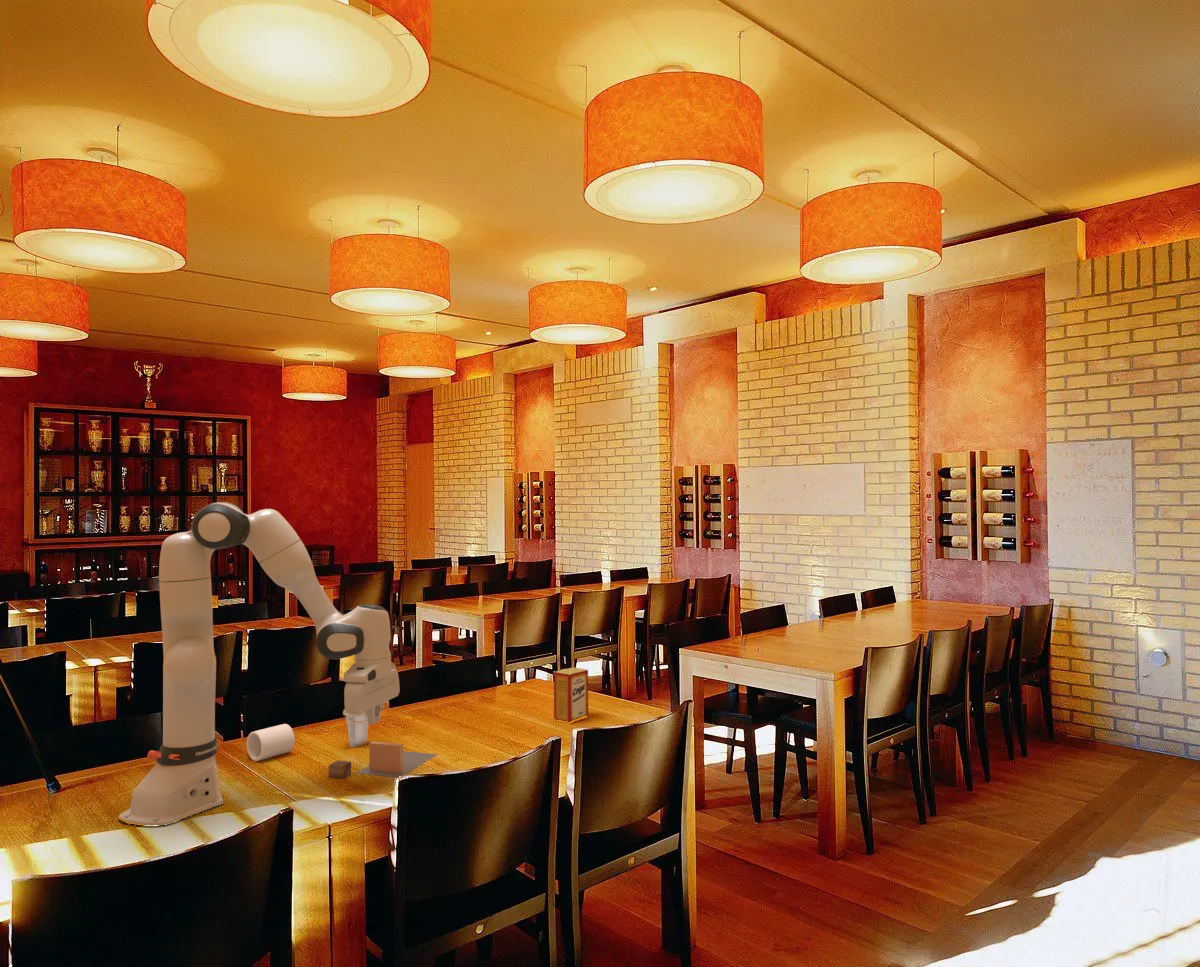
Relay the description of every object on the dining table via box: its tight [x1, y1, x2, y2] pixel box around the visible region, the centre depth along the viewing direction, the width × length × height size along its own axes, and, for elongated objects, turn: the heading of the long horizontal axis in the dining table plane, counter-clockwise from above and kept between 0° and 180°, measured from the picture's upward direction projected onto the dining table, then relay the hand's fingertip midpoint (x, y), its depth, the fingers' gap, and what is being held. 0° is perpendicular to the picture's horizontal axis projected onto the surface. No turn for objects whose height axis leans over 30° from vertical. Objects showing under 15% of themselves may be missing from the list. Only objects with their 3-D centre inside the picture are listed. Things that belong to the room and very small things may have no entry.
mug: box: [246, 723, 296, 762], centre depth 229 cm, size 12×10×8 cm
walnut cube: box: [328, 760, 352, 780], centre depth 209 cm, size 4×4×4 cm
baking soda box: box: [553, 666, 589, 722], centre depth 265 cm, size 10×6×16 cm
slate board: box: [355, 750, 438, 779], centre depth 218 cm, size 20×13×1 cm, turn 164°
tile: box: [368, 740, 404, 773], centre depth 213 cm, size 2×9×7 cm, turn 74°
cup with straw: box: [339, 677, 369, 748], centre depth 237 cm, size 8×9×20 cm
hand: (374, 722), depth 207 cm, fingers closed
